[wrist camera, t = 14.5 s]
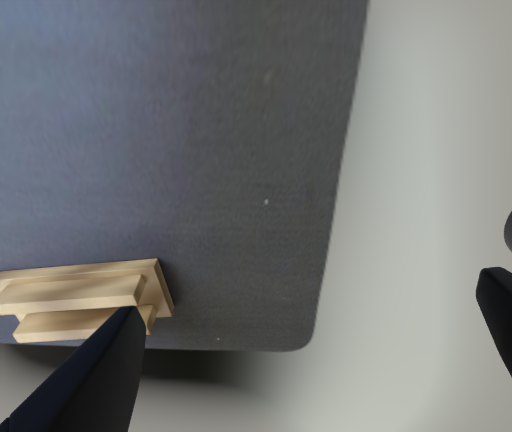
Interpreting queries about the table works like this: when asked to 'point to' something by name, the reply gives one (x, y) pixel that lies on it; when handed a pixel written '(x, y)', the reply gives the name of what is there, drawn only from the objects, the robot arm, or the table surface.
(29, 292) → the stand
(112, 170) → the table surface
